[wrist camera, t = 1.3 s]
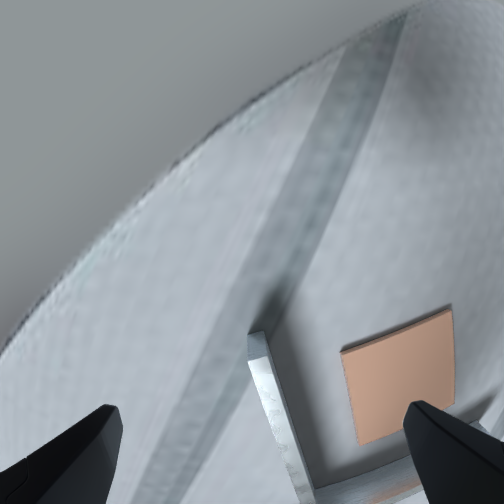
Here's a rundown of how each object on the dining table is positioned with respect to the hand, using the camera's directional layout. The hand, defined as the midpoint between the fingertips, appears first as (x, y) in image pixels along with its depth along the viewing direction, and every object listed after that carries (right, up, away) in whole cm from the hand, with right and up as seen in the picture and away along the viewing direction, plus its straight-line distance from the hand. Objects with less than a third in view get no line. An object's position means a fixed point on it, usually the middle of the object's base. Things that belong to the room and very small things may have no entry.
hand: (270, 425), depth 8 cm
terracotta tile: (+12, -6, +15) cm, 21 cm away
